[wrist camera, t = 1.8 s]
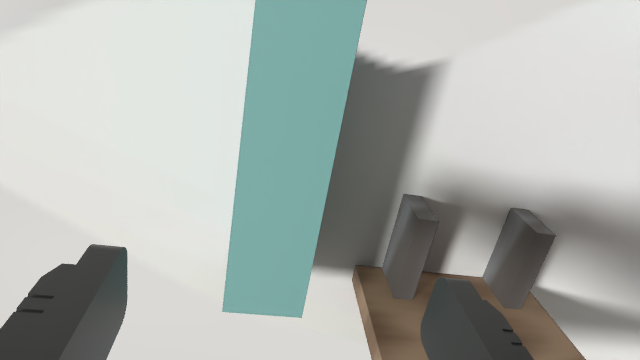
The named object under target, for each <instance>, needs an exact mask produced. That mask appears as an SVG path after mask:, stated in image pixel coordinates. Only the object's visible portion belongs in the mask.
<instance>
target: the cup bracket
mask: <svg viewBox="0 0 640 360" xmlns="http://www.w3.org/2000/svg"><path fill="white" fill-rule="evenodd" d="M438 223H439V221H438V219H437V218H436V216H435V215H434V213H433V212H432V210H431V209H430V207H429V206H428V204H427V203H426V201H425V200H424V198H423V197H422V196H414V195H406V194H404V195H403V198H402V202H401V205H400V208H399V212H398V215H397V219H396V222H395V226H394V229H393V232H392V236H391V239H390V243H389V246H388V250H387V253H386V256H385V260H384V263H383V267H382V268H378V267H367V266H357V265H356V267H355V270H354V274H353V278H352V282H353V286H354V290H355V294H356V298H357V302H358V306H359V310H360V314H361V318H362V322H363V326H364V330H365V334H366V338H367V342H368V346H369V350H370V354H371V358H372V360H429V359H428V357H427V354H426V352H425V349H424V347H423V344H422V341H421V332H420V330H421V322H422V318H423V316H424V313H425V310H426V307H427V304H428V302H429V299H430V296H431V293H432V291H433V288H434V285H435V283H436V281H437V280H438V278H440V277H444V278H455V279H466V280H469V281H470V282H471V283H472V285H473V286H474V288H475V289H476V291H477V292H478V294H479V295H480V297H481V298H482V300H487V301H488V302H489V303H490V304H491V305H492V306H494V307H495V308H496V309H497V310H498V311H499V312H501V313H502V314H503V316H504V317H505V318H506V320H507V321H508V323H509V324H510V326H511V327H512V328H513V332H514V333H516V334H517V336H518V337H519V339H520V340H521V341H522V345H523V346H525V347H526V349H527V350H528V352H529V353H530V354H531V356H532V357H533V359H534V360H586V359H585V358H584V357H583V356H582V354H581V353H580V352H579V351H578V350H577V348H576V347H575V346H574V345H573V343H572V342H571V341H570V340H569V339H568V337H567V336H566V335H565V334H564V332H563V331H562V330H561V329H560V328H559V326H558V325H557V324H556V323H555V321H554V320H553V319H552V318H551V317H550V315H549V314H548V313H547V312H546V310H545V309H544V308H543V307H542V306H541V304H540V303H539V302H538V301H537V299H536V298H535V297H534V296H533V295H532V293H531V292H530V289H531V287H532V285H533V283H534V281H535V279H536V276H537V274H538V272H539V270H540V268H541V266H542V264H543V262H544V260H545V257H546V255H547V253H548V251H549V249H550V247H551V245H552V243H553V241H554V238H555V236H556V235H555V234H554V233H553V232H552V231H551V230H550V229H549V228H547V227H546V226H545V225H544V224H543V223H542V222H541V221H540V220H539V219H538V218H536V217H535V216H534V215H533V214H532V213H531V212H530V211H529V210H524V209H516V208H511V209H510V212H509V214H508V217H507V219H506V222H505V224H504V226H503V229H502V231H501V234H500V236H499V239H498V241H497V243H496V246H495V248H494V251H493V253H492V256H491V258H490V260H489V263H488V265H487V268H486V270H485V273H484V275H483V277H482V278H480V277H470V276H460V275H449V274H439V273H429V272H422V270H423V267H424V264H425V261H426V258H427V256H428V253H429V250H430V247H431V244H432V241H433V238H434V235H435V232H436V229H437V226H438Z"/></svg>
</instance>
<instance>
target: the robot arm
mask: <svg viewBox="0 0 640 360" xmlns="http://www.w3.org/2000/svg"><path fill="white" fill-rule="evenodd" d="M126 305H127V250H126V248H125V247H116V246H105V245H95V244H92V245H90V246H89V247H88V248H87V250H86V252H85V253H84V254H83V256H82V257H81V259H80V260H79V261H78V263H77V264H76V265H73V264H61V265H59V266H58V267H56V268H55V269H53V270H52V271H50V272H48V273H47V274H45V275H44V276H42V277H41V278H40V279H39V281H38V282H37V283H36V285H35V286H34V287H33V288H32V290H31V291H30V292H29V293H28V297H25V298H24V300H23V301H22V302H21V304H20V305H19V306H18V307H17V311H16V312H13V314H12V315H11V316H10V318H9V319H8V320H7V321H6V323H5V324H4V325H3V327H2V328H1V329H0V360H106V359H107V356H108V354H109V352H110V349H111V347H112V345H113V343H114V340H115V338H116V336H117V334H118V332H119V329H120V327H121V325H122V322H123V319H124V315H125V311H126ZM420 332H421V341H422V344H423V347H424V349H425V352H426V354H427V357H428V359H429V360H534V359H533V357H532V356H531V354H530V353H529V352H528V350H527V349H526V347H525V346H523V345H522V341H521V340H520V339H519V337H518V336H517V334H516V333H514V332H513V328H512V327H511V326H510V324H509V323H508V321H507V320H506V318H505V317H504V316H503V314H502V313H501V312H499V311H498V310H497V309H496V308H495V307H494V306H492V305H491V304H490V303H489V302H488V301H487V300H482V298H481V297H480V295H479V294H478V292H477V291H476V289H475V288H474V286H473V285H472V283H471V282H470V281H469V280H466V279H455V278H444V277H440V278H438V280H437V281H436V283H435V285H434V288H433V291H432V293H431V296H430V299H429V302H428V304H427V307H426V310H425V313H424V316H423V318H422V322H421V330H420Z"/></svg>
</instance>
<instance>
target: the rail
mask: <svg viewBox="0 0 640 360" xmlns="http://www.w3.org/2000/svg"><path fill="white" fill-rule="evenodd" d="M366 2H367V0H256V1H255V11H254V20H253V29H252V39H251V48H250V57H249V67H248V76H247V85H246V95H245V104H244V114H243V123H242V132H241V142H240V151H239V160H238V170H237V179H236V188H235V198H234V207H233V216H232V226H231V235H230V244H229V254H228V263H227V273H226V282H225V291H224V301H223V310H222V312H231V313H245V314H259V315H272V316H286V317H299V318H302V314H303V309H304V304H305V299H306V294H307V290H308V285H309V280H310V275H311V270H312V265H313V260H314V255H315V251H316V246H317V241H318V236H319V231H320V226H321V221H322V216H323V212H324V207H325V202H326V197H327V192H328V187H329V182H330V177H331V173H332V168H333V163H334V158H335V153H336V148H337V143H338V138H339V134H340V129H341V124H342V119H343V114H344V109H345V104H346V99H347V95H348V90H349V85H350V80H351V75H352V70H353V65H354V60H355V56H356V51H357V46H358V41H359V36H360V31H361V26H362V21H363V17H364V11H365V7H366Z"/></svg>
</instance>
